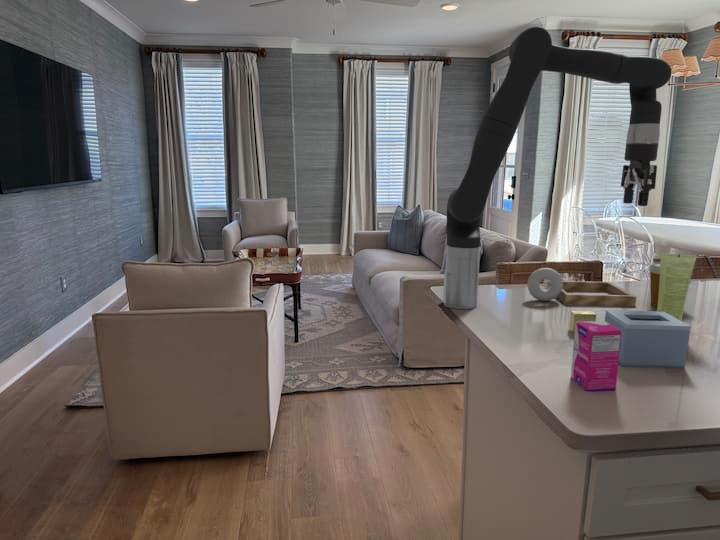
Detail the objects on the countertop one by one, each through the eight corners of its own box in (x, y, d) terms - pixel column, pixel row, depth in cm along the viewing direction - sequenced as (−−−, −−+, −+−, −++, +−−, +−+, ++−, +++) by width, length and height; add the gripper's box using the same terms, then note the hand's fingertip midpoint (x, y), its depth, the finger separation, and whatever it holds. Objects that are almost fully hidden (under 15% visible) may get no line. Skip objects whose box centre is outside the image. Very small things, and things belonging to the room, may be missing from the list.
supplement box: (568, 379, 96) (574, 320, 93) (599, 378, 96) (605, 320, 94) (584, 393, 90) (591, 330, 88) (616, 392, 90) (624, 330, 88)
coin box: (621, 367, 101) (626, 324, 99) (601, 350, 111) (605, 310, 109) (684, 370, 101) (690, 326, 99) (658, 351, 110) (663, 311, 109)
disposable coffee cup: (646, 308, 144) (651, 266, 141) (642, 300, 152) (647, 261, 150) (685, 312, 140) (692, 269, 138) (679, 304, 149) (685, 263, 146)
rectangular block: (572, 334, 122) (574, 313, 121) (569, 330, 124) (570, 310, 123) (594, 334, 121) (596, 314, 120) (590, 331, 124) (592, 311, 123)
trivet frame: (565, 304, 147) (566, 294, 146) (546, 289, 165) (547, 280, 164) (635, 306, 146) (636, 296, 145) (608, 291, 164) (609, 281, 163)
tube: (664, 330, 125) (675, 251, 121) (685, 336, 121) (697, 254, 117) (649, 333, 123) (660, 252, 119) (670, 339, 118) (681, 256, 114)
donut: (559, 300, 152) (562, 267, 150) (562, 303, 149) (566, 269, 147) (525, 298, 153) (527, 266, 151) (527, 301, 150) (530, 268, 148)
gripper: (615, 143, 141) (609, 202, 145) (640, 141, 127) (632, 206, 131) (643, 143, 141) (636, 202, 144) (671, 141, 127) (662, 207, 130)
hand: (634, 204), depth 137 cm, fingers open, 8 cm apart
